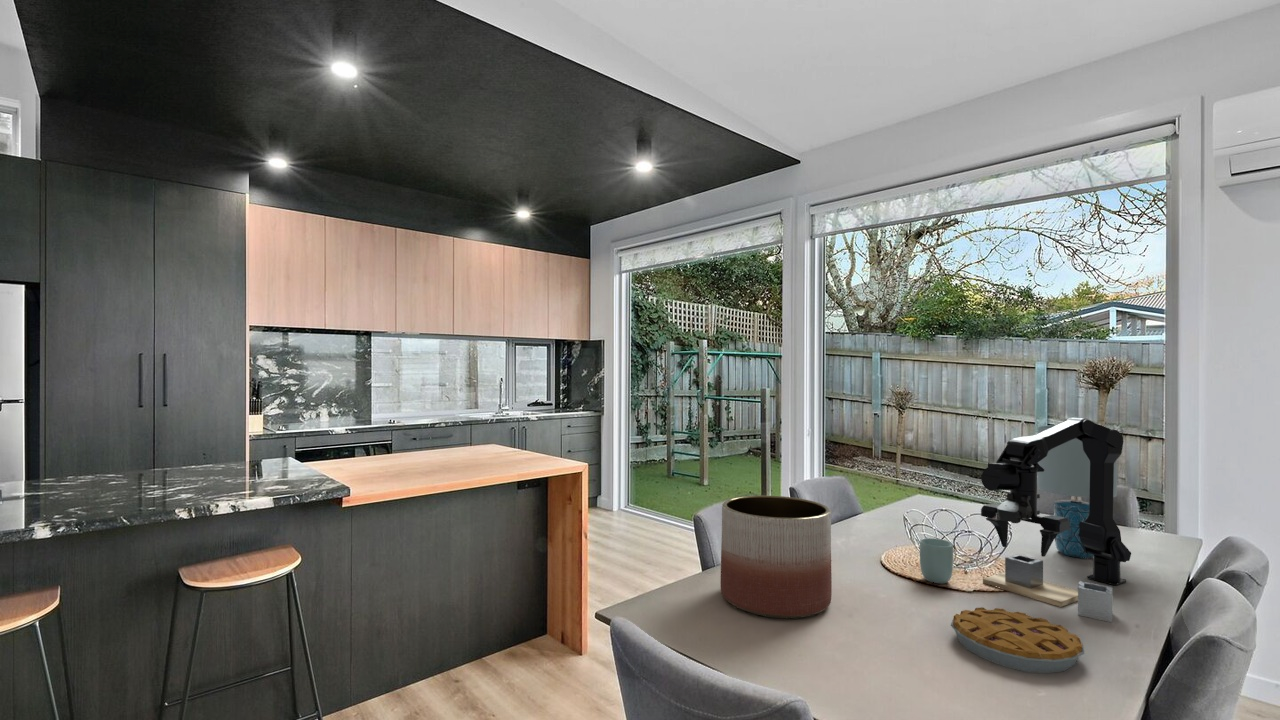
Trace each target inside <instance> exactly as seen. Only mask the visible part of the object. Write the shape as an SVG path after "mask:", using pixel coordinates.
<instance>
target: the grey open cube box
mask: <svg viewBox="0 0 1280 720" xmlns="http://www.w3.org/2000/svg"><path fill="white" fill-rule="evenodd" d="M1077 590H1078V601H1077V615H1078V616H1081V617H1085V618H1090V619H1095V620H1098V621H1099V620H1100V621H1104V622H1110V623H1113V586H1110V585H1109V586H1108V585H1103V584H1098V583H1092V582H1087V581H1083V580H1082V581H1081V580H1079V582H1078V586H1077Z"/></svg>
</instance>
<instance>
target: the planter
mask: <svg viewBox="0 0 1280 720" xmlns="http://www.w3.org/2000/svg"><path fill="white" fill-rule="evenodd" d="M721 505H722V506H721V543H720V544H721V547H720V548H721V549H720V593H721V595H722V597H723V598H724V599H725V601H727V602H728V603H729V604H730V605H733V606H734V607H736V608H738V609H740V610H741V611H744V612H747V613H750V614H753V615H757V616H762V617H765V618H766V617H768V618H775V619H799V618H800V619H801V618H806V617H811V616H815V615H817V614H819V613H821V612H823V611H825V610H826V609H827V608H829V607H830V605H831V603H832V592H833V591H832V590H833V589H832V579H833V578H832V510H831V508H829V506H827V505H826V504H823V503H821V502H816V501H815V500H814V501H813V500H810V499H803V498H798V497H794V496H793V497H792V496H782V495H781V496H780V495H745V496H738V497H737V496H736V497H733V498H728V499H726V500H725V501H723V502H722V504H721Z"/></svg>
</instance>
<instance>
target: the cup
mask: <svg viewBox="0 0 1280 720" xmlns="http://www.w3.org/2000/svg"><path fill="white" fill-rule="evenodd" d="M919 566H920V572H921V575H922V576H923V578H924V579H925V580H926V581H928V582H930V583H933V582H934V583H933V584H947V583H948V582H949V581H950V580H951V578H952V576H953V570H954V544H953V543H952V542H951V541H948V540H947V539H946V540H945V539H941V538H933V537H932V538H931V537H930V538H929V537H926V538H925V537H924V538H921V539H920V540H919Z"/></svg>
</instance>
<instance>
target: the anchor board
mask: <svg viewBox="0 0 1280 720" xmlns="http://www.w3.org/2000/svg"><path fill="white" fill-rule="evenodd" d="M984 583H986V584H985V585H987V584H989V585H988V586H990V585H993V586H992V587H994V586H997V587H1000V588H1003V589H1005V591H1007V592H1011V593H1014V594H1017V595H1020V596H1024V597H1028V598H1031V599H1033V600H1036V601H1039V602H1043V603H1047V604H1049V605H1053V606H1056V607H1059V608H1063V607H1065V606H1067V605H1070V604H1072V603H1075V602H1078V589H1075V588H1071V587H1067V586H1063V585H1060V584H1057V583H1052V582H1049V581H1046V580H1043V585H1040V586H1037V587H1034V588H1031V589H1030V588H1026V587H1023V586H1020V585H1016V584H1013V583H1009V582H1006V581H1005V571H1004V572H1003V571H1002V572H1000V573H997V574H994V575H991V576H987V577H983V578H982V584H984ZM997 587H996V588H997ZM1000 588H999V589H1000ZM1003 589H1002V590H1003Z"/></svg>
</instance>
